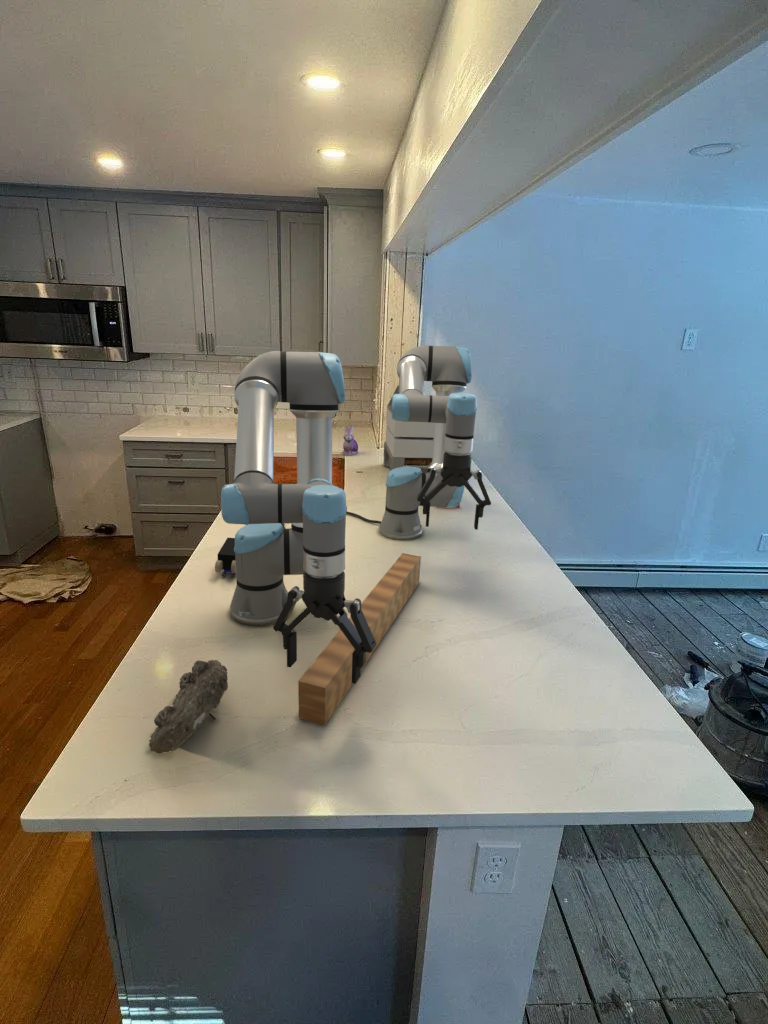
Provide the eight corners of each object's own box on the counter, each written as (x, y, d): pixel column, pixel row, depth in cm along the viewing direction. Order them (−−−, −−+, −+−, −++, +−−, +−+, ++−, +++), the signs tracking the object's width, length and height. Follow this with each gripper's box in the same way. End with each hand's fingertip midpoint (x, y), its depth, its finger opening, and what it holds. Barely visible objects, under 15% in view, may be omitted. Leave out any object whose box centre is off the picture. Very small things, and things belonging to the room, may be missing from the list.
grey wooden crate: (382, 463, 289) (386, 382, 275) (445, 464, 293) (451, 384, 279) (390, 482, 257) (394, 392, 243) (460, 483, 261) (468, 394, 247)
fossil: (177, 661, 117) (228, 629, 112) (210, 691, 120) (261, 661, 115) (124, 747, 97) (183, 713, 92) (164, 781, 100) (223, 749, 95)
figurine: (346, 456, 299) (346, 428, 294) (338, 451, 308) (338, 424, 302) (362, 454, 303) (363, 427, 298) (354, 450, 312) (354, 423, 307)
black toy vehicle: (238, 584, 162) (249, 557, 175) (236, 562, 158) (247, 536, 172) (215, 584, 161) (227, 556, 175) (212, 561, 158) (225, 535, 171)
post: (400, 579, 166) (402, 552, 164) (418, 582, 165) (420, 556, 162) (298, 717, 109) (298, 680, 106) (324, 725, 107) (325, 688, 104)
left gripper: (252, 567, 103) (256, 667, 110) (382, 592, 95) (377, 698, 102) (273, 552, 110) (276, 647, 116) (396, 574, 102) (390, 675, 109)
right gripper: (411, 453, 149) (406, 528, 156) (506, 458, 148) (497, 534, 155) (411, 446, 156) (407, 519, 163) (502, 451, 155) (494, 524, 162)
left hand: (323, 671), depth 109 cm, fingers open, 13 cm apart
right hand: (451, 526), depth 159 cm, fingers open, 13 cm apart
